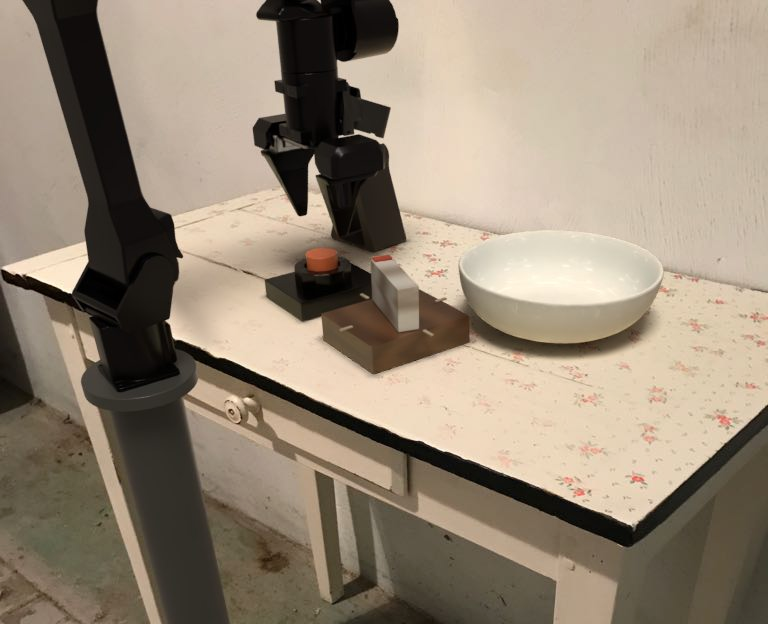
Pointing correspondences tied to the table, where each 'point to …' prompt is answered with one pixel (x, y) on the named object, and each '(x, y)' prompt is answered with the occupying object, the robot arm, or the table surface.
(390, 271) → the silver metal brick
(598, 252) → the serving bowl
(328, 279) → the button block
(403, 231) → the phone stand
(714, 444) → the table surface
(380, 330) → the brown wooden block base
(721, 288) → the table surface
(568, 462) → the table surface
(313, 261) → the button
